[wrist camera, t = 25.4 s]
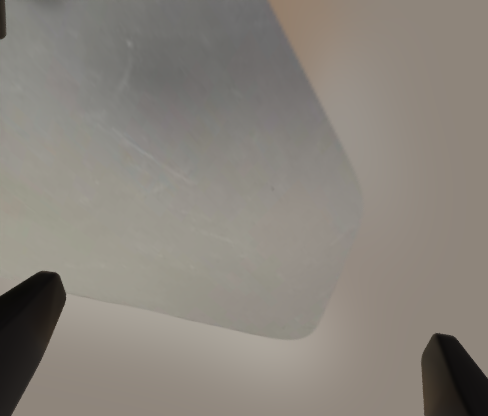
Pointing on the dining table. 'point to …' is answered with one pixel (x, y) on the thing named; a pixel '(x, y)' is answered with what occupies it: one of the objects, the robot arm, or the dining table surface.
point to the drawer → (2, 19)
